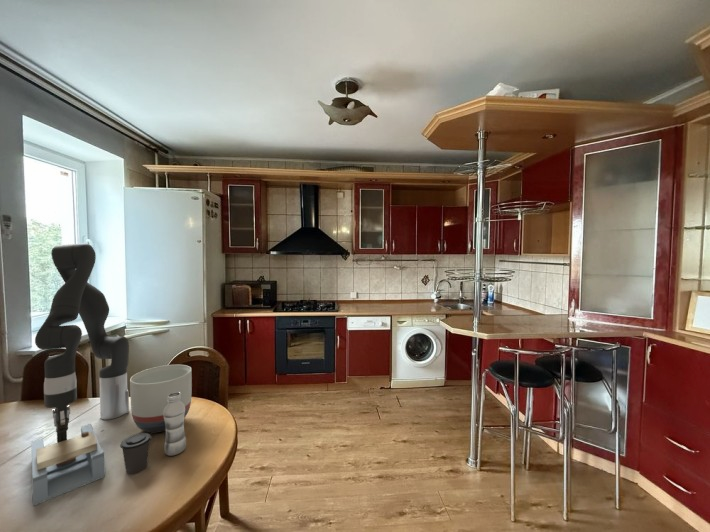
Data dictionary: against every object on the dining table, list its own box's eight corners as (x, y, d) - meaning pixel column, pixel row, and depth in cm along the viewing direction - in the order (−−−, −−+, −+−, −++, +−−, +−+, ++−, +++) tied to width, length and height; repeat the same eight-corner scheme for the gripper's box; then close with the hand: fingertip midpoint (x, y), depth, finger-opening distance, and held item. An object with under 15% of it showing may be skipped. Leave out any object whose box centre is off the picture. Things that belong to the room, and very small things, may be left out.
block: (74, 453, 103) (73, 438, 103) (75, 459, 100) (75, 444, 100) (55, 460, 100) (55, 444, 100) (56, 466, 97) (56, 450, 96)
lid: (92, 437, 102) (92, 429, 102) (97, 449, 96) (97, 440, 96) (36, 456, 93) (36, 446, 93) (37, 470, 86) (37, 460, 86)
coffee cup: (117, 481, 91) (117, 448, 91) (123, 465, 99) (122, 434, 98) (150, 472, 95) (149, 440, 95) (153, 457, 102) (153, 427, 102)
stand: (91, 441, 112) (91, 420, 112) (104, 476, 93) (104, 452, 93) (31, 461, 101) (31, 438, 101) (33, 505, 82) (32, 478, 82)
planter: (143, 449, 106) (141, 388, 106) (123, 430, 119) (121, 375, 118) (201, 424, 123) (201, 371, 122) (179, 409, 135) (178, 361, 134)
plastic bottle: (190, 448, 107) (189, 391, 107) (173, 460, 101) (172, 400, 100) (176, 444, 109) (175, 389, 109) (159, 456, 103) (158, 397, 102)
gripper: (78, 390, 96) (80, 445, 96) (74, 379, 105) (75, 429, 105) (44, 398, 90) (46, 456, 91) (43, 386, 99) (44, 439, 100)
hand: (62, 442), depth 98 cm, fingers closed
